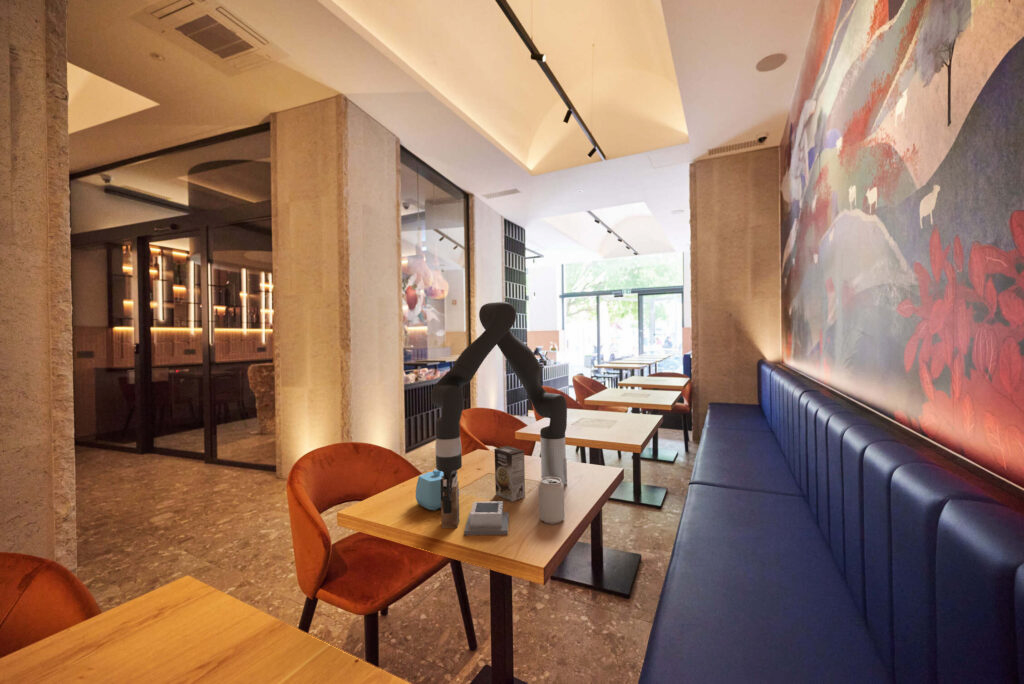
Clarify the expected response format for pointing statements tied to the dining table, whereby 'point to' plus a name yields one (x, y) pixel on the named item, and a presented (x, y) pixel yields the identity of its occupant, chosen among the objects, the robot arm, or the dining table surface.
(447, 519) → the long tan beam
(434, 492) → the teapot
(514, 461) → the coffee box
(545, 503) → the can
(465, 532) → the dock
